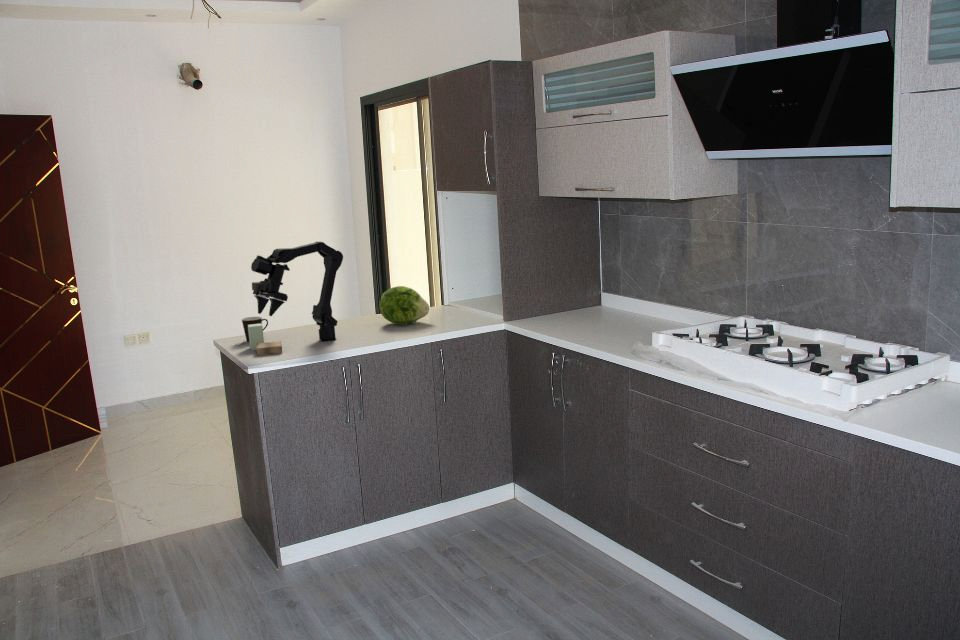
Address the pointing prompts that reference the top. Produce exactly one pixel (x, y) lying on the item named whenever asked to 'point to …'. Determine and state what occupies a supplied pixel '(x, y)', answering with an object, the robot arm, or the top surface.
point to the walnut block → (269, 348)
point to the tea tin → (255, 335)
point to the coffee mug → (250, 321)
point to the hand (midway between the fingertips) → (264, 314)
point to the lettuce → (403, 305)
